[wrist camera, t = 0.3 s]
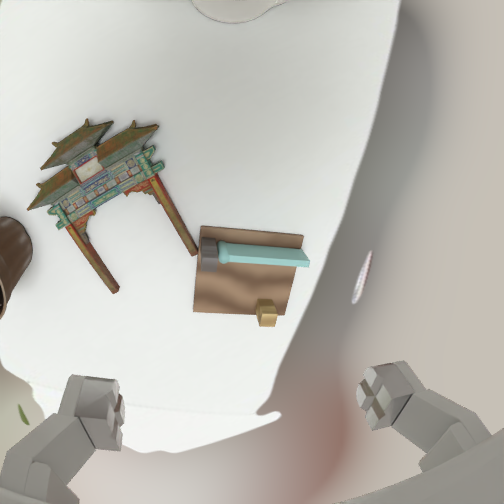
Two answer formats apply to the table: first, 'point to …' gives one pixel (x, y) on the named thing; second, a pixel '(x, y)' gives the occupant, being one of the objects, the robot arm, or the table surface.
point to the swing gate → (261, 255)
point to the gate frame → (243, 276)
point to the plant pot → (12, 257)
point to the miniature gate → (103, 183)
